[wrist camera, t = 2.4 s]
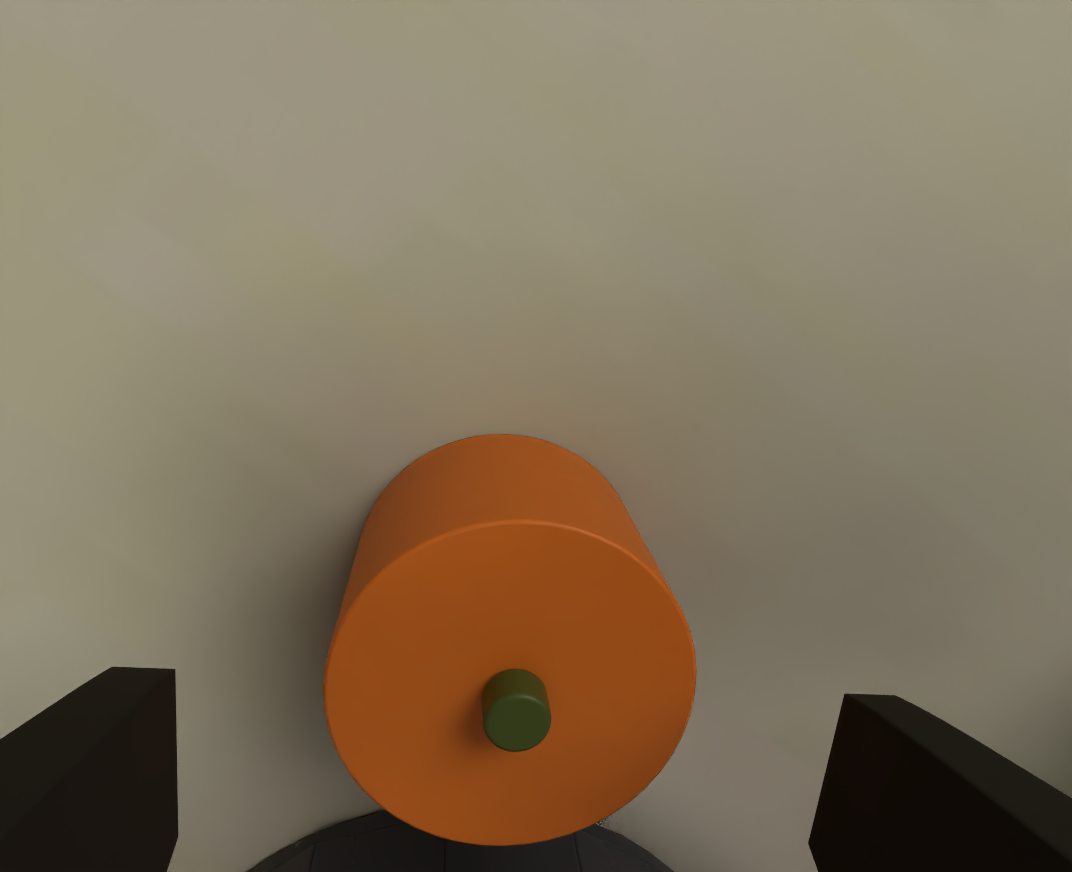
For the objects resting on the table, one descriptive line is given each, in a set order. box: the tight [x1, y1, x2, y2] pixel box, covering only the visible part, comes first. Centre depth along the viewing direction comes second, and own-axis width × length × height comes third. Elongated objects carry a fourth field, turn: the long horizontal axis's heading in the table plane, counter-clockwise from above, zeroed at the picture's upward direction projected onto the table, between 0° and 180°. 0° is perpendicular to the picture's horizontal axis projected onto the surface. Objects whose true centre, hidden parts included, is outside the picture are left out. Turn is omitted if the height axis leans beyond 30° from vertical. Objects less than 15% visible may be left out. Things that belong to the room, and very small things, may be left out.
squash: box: [323, 434, 696, 846], centre depth 11 cm, size 5×5×4 cm
